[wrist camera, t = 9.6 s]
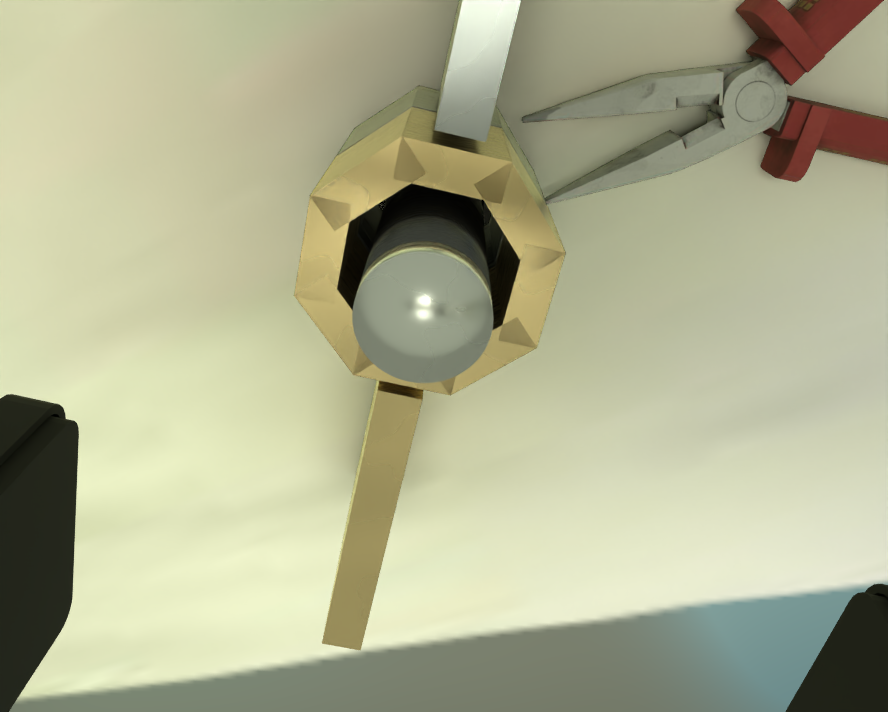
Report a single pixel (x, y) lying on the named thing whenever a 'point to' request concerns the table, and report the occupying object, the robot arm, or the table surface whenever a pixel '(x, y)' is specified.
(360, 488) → the hinge leaf
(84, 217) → the table surface
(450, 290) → the hinge pin
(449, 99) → the hinge base
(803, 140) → the pliers
